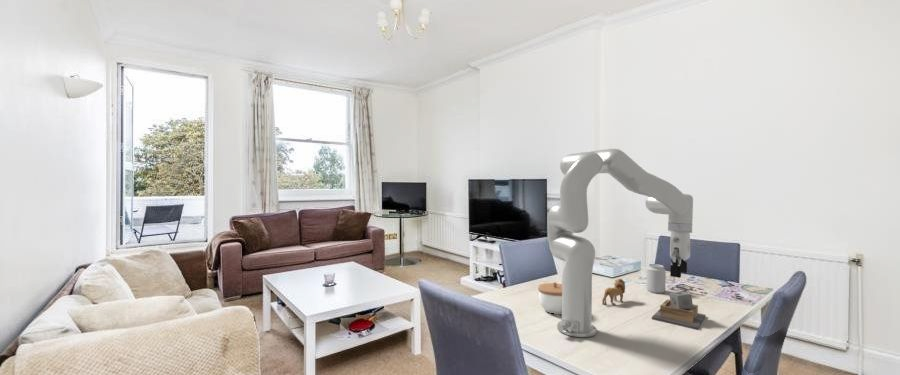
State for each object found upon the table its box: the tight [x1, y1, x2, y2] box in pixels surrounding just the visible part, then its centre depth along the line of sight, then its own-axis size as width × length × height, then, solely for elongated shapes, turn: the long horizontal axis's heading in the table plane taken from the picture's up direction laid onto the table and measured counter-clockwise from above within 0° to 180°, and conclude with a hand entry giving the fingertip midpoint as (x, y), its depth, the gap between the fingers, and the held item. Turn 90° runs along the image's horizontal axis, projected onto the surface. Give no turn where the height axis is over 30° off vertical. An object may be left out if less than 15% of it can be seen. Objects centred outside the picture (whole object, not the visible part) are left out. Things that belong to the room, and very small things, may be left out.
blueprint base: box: [651, 299, 706, 330], centre depth 137 cm, size 16×14×5 cm
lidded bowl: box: [537, 281, 562, 315], centre depth 144 cm, size 13×13×11 cm
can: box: [645, 263, 666, 294], centre depth 169 cm, size 8×8×12 cm
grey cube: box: [668, 290, 694, 309], centre depth 136 cm, size 5×5×5 cm
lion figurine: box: [601, 278, 626, 306], centre depth 154 cm, size 15×5×9 cm, turn 132°
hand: (678, 274), depth 136 cm, fingers open, 9 cm apart
